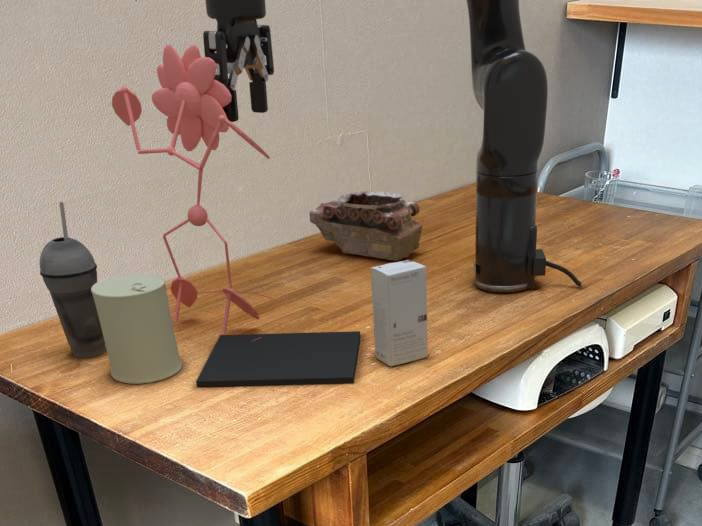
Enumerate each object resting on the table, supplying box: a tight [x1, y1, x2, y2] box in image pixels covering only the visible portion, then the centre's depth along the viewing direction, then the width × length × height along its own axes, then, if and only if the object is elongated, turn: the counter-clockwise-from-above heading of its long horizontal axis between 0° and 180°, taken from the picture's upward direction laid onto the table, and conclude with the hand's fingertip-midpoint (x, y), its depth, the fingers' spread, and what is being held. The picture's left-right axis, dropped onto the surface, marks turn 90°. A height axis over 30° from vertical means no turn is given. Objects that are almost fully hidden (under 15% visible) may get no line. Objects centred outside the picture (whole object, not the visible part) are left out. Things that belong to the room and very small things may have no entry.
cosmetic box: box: [370, 259, 429, 367], centre depth 111 cm, size 6×4×12 cm
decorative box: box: [309, 190, 424, 262], centre depth 152 cm, size 13×20×10 cm, turn 53°
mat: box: [195, 330, 361, 388], centre depth 115 cm, size 20×16×1 cm
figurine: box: [111, 44, 279, 342], centre depth 118 cm, size 15×26×35 cm, turn 60°
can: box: [91, 272, 183, 385], centre depth 111 cm, size 9×9×12 cm
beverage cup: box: [39, 201, 107, 359], centre depth 114 cm, size 7×7×20 cm
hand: (245, 116), depth 116 cm, fingers open, 8 cm apart
